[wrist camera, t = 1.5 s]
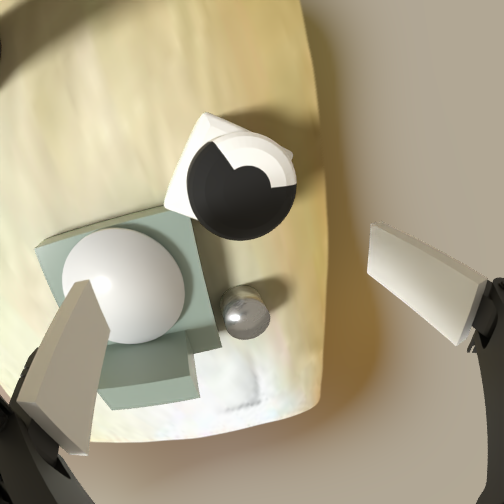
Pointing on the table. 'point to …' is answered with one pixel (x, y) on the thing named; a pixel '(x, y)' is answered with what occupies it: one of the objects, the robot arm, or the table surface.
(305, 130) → the table surface
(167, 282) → the scale
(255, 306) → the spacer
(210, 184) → the container
